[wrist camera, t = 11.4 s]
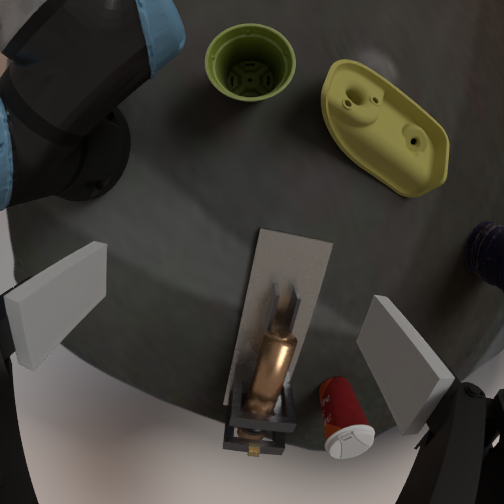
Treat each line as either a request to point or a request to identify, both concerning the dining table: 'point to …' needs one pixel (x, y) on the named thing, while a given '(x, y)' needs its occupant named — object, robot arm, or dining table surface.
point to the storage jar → (487, 253)
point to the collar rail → (273, 317)
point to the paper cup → (343, 420)
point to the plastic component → (384, 129)
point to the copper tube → (268, 377)
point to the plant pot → (250, 62)
